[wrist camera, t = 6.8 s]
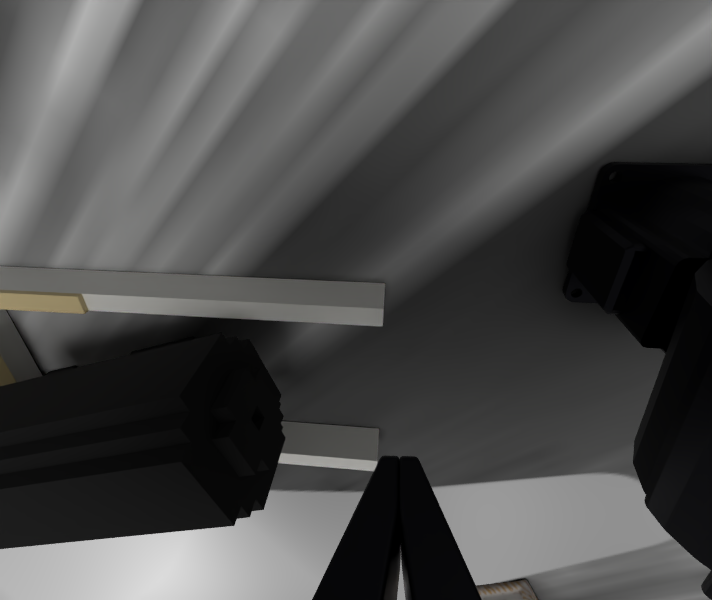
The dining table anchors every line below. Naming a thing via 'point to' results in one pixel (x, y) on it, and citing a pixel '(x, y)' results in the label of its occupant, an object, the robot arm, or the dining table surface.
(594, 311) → the dining table surface
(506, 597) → the decorative jar
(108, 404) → the security camera
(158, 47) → the dining table surface
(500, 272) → the dining table surface
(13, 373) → the tester cradle
